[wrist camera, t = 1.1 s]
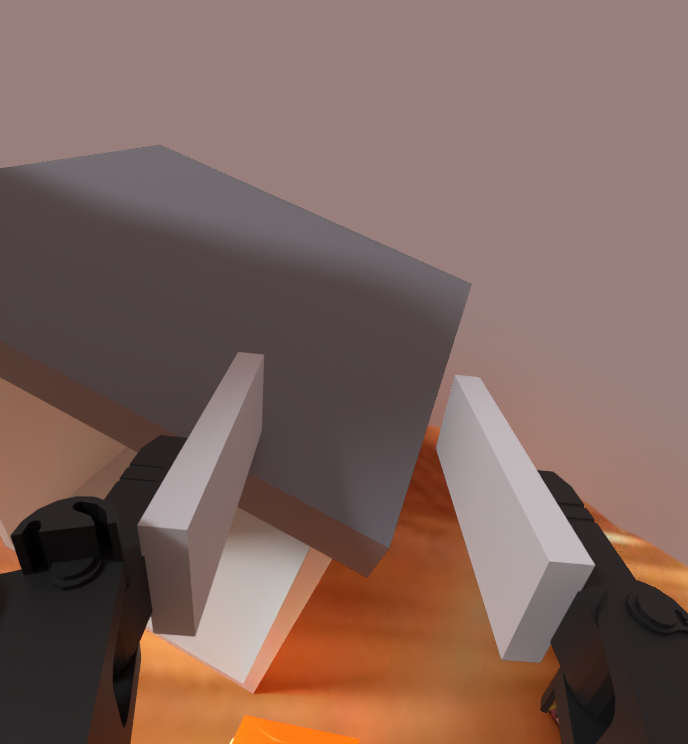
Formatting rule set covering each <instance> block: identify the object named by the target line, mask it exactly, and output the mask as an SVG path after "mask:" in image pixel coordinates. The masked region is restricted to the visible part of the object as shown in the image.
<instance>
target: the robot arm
mask: <svg viewBox="0 0 688 744" xmlns="http://www.w3.org/2000/svg"><path fill="white" fill-rule="evenodd" d="M263 373H264V355H263V354H253V353H244V352H238V353H237V355H236V357H235V358H234V360H233V362H232V364H231V365H230V367H229V369H228V370H227V372H226V374H225V376H224V377H223V379H222V381H221V382H220V384H219V386H218V388H217V389H216V391H215V393H214V394H213V396H212V398H211V400H210V401H209V403H208V405H207V406H206V408H205V410H204V412H203V413H202V415H201V417H200V418H199V420H198V422H197V424H196V425H195V427H194V429H193V430H192V432H191V434H190V436H189V437H188V438H184V437H174V436H164V435H160V436H158V437H157V438H155V439H154V440H152V441H151V442H149V443H148V444H146V445H145V446H143V447H142V448H141V449H140V450H139V452H138V453H137V455H136V456H135V457H134V459H133V460H132V461H131V463H130V466H129V467H127V468H126V470H125V471H124V472H123V474H122V475H121V477H120V480H119V481H117V482H116V483H115V485H114V486H113V488H112V489H111V490H110V492H109V493H108V494H107V496H106V497H105V499H104V500H103V499H100V498H97V497H94V496H76V497H71V498H66V499H62V500H57V501H55V502H53V503H51V504H48V505H46V506H44V507H42V508H39V509H37V510H36V511H35V512H33V513H32V514H31V515H29V516H28V517H27V518H25V519H24V520H22V521H21V522H20V524H19V525H18V526H17V528H16V529H15V530H14V531H13V533H12V534H11V535H10V536H11V539H12V542H13V545H14V548H15V551H16V554H17V557H18V560H19V563H20V565H21V568H22V569H21V570H17V571H13V572H8V573H3V574H0V744H130V742H131V734H132V726H133V719H134V711H135V703H136V695H137V687H138V679H139V672H140V664H141V650H140V640H141V637H142V635H143V633H144V630H145V628H146V626H147V624H148V621H149V619H150V617H151V620H152V627H153V634H166V635H179V636H192V637H195V636H196V633H197V630H198V627H199V624H200V621H201V618H202V615H203V611H204V608H205V605H206V602H207V599H208V596H209V593H210V590H211V587H212V584H213V580H214V577H215V574H216V571H217V568H218V565H219V562H220V559H221V556H222V553H223V549H224V546H225V543H226V540H227V537H228V534H229V531H230V528H231V525H232V522H233V518H234V515H235V512H236V509H237V506H238V503H239V500H240V497H241V494H242V491H243V488H244V484H245V481H246V478H247V475H248V472H249V469H250V466H251V463H252V460H253V457H254V453H255V450H256V447H257V444H258V441H259V438H260V435H261V432H262V407H263ZM436 450H437V453H438V456H439V460H440V463H441V466H442V469H443V473H444V476H445V479H446V482H447V486H448V489H449V492H450V495H451V498H452V502H453V505H454V508H455V511H456V515H457V518H458V521H459V524H460V528H461V531H462V534H463V537H464V540H465V544H466V547H467V550H468V553H469V557H470V560H471V563H472V566H473V570H474V573H475V576H476V579H477V583H478V586H479V589H480V592H481V595H482V599H483V602H484V605H485V608H486V612H487V615H488V618H489V621H490V625H491V628H492V631H493V634H494V637H495V641H496V644H497V647H498V650H499V654H500V657H501V660H509V661H522V662H535V663H541V661H542V659H543V657H544V656H545V654H546V652H547V650H548V648H549V647H550V645H552V647H553V650H554V652H555V654H556V657H557V659H558V661H559V664H560V666H561V667H560V668H559V670H558V672H557V673H556V675H555V677H554V678H553V680H552V681H551V683H550V685H549V686H548V688H547V690H546V691H545V693H544V695H543V696H542V698H541V708H540V711H542V712H545V713H547V712H548V710H549V709H550V707H551V705H552V704H553V702H554V701H555V699H556V706H557V712H556V717H558V721H559V728H560V736H561V743H562V744H688V613H687V612H686V611H685V610H684V609H683V608H682V607H681V606H680V605H679V604H677V603H676V602H675V601H674V600H673V599H672V598H670V597H669V596H667V595H666V594H664V593H663V592H661V591H660V590H658V589H657V588H655V587H653V586H650V585H648V584H646V583H643V582H641V581H638V580H636V579H635V578H634V576H633V575H632V573H631V572H630V570H629V569H628V568H627V566H626V565H625V563H624V562H623V560H622V559H621V557H620V556H619V554H618V553H617V552H616V550H615V549H614V547H613V546H612V544H611V543H610V541H609V540H608V539H607V537H606V536H605V534H604V533H603V531H602V530H601V528H600V527H599V526H598V524H597V523H594V518H593V517H592V515H591V514H590V513H589V511H588V510H587V508H584V504H583V502H582V501H581V500H580V498H579V497H578V495H577V494H576V493H575V491H574V490H573V488H572V487H571V486H570V485H569V484H567V483H566V482H565V481H564V480H563V479H561V478H560V477H559V476H558V475H557V474H556V473H554V472H551V471H540V470H536V469H535V467H534V465H533V463H532V462H531V460H530V459H529V457H528V455H527V454H526V452H525V450H524V449H523V447H522V446H521V444H520V443H519V441H518V439H517V437H516V436H515V434H514V433H513V431H512V429H511V428H510V426H509V424H508V423H507V421H506V420H505V418H504V416H503V415H502V413H501V411H500V410H499V408H498V407H497V405H496V403H495V402H494V400H493V398H492V397H491V395H490V394H489V392H488V390H487V389H486V387H485V385H484V384H483V382H482V381H481V379H480V378H479V377H470V376H461V375H455V377H454V381H453V385H452V388H451V392H450V396H449V400H448V403H447V407H446V411H445V415H444V419H443V423H442V426H441V430H440V434H439V438H438V442H437V445H436Z"/></svg>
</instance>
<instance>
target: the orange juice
mask: <svg viewBox="0 0 688 744" xmlns="http://www.w3.org/2000/svg"><path fill="white" fill-rule="evenodd" d="M359 740H360V739H356V738H351V737H346V736H342V735H337V734H332V733H327V732H323V731H318V730H313V729H308V728H303V727H299V726H294V725H289V724H284V723H280V722H275V721H270V720H265V719H260V718H256V717H251V716H246V715H245V716H244V718H243V721H242V723H241V725H240V727H239V729H238V731H237V733H236V736H235V738H233V739H232V741H231V742H230V744H359Z"/></svg>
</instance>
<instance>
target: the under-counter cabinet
mask: <svg viewBox="0 0 688 744" xmlns="http://www.w3.org/2000/svg"><path fill="white" fill-rule="evenodd" d="M471 285H472V284H471V283H468V282H466V281H464V280H462V279H460V278H457V277H455V276H453V275H451V274H448V273H446V272H444V271H442V270H439V269H437V268H435V267H433V266H430V265H428V264H426V263H424V262H421V261H419V260H417V259H415V258H413V257H410V256H408V255H406V254H403V253H401V252H399V251H397V250H395V249H392V248H390V247H388V246H385V245H383V244H381V243H379V242H377V241H374V240H372V239H370V238H368V237H365V236H363V235H361V234H359V233H357V232H354V231H352V230H350V229H348V228H345V227H343V226H341V225H338V224H336V223H334V222H332V221H330V220H327V219H325V218H323V217H321V216H318V215H316V214H314V213H312V212H310V211H307V210H305V209H303V208H301V207H298V206H296V205H294V204H292V203H289V202H287V201H285V200H283V199H280V198H278V197H276V196H274V195H272V194H269V193H267V192H264V191H263V190H260V189H258V188H256V187H254V186H251V185H249V184H247V183H245V182H242V181H240V180H238V179H236V178H233V177H231V176H229V175H227V174H225V173H222V172H220V171H218V170H216V169H213V168H211V167H209V166H207V165H204V164H202V163H200V162H197V161H195V160H193V159H191V158H189V157H186V156H184V155H182V154H180V153H177V152H175V151H173V150H171V149H169V148H166V147H164V146H162V145H156V146H149V147H142V148H136V149H129V150H122V151H116V152H109V153H102V154H95V155H88V156H82V157H75V158H68V159H61V160H55V161H47V162H41V163H34V164H27V165H20V166H14V167H7V168H0V536H1V538H2V540H3V542H4V544H5V546H7V547H9V548H10V549H12V550H14V551H15V548H14V545H13V542H12V539H11V536H10V535H11V534H12V533H13V531H14V530H15V529H16V528H17V526H18V525H19V524H20V522H21V521H22V520H24V519H25V518H27V517H28V516H29V515H31V514H32V513H33V512H35V511H36V510H37V509H39V508H42V507H44V506H46V505H48V504H51V503H53V502H55V501H57V500H62V499H66V498H71V497H76V496H94V497H97V498H100V499H103V500H104V499H105V497H106V496H107V494H108V493H109V492H110V490H111V489H112V488H113V486H114V485H115V483H116V482H117V481H119V480H120V477H121V475H122V474H123V472H124V471H125V470H126V468H127V467H129V466H130V463H131V461H132V460H133V459H134V457H135V456H136V455H137V453H138V452H139V450H140V449H141V448H142V447H143V446H145V445H146V444H148V443H149V442H151V441H152V440H154V439H155V438H157V437H158V436H160V435H164V436H174V437H184V438H188V437H189V436H190V434H191V432H192V430H193V429H194V427H195V425H196V424H197V422H198V420H199V418H200V417H201V415H202V413H203V412H204V410H205V408H206V406H207V405H208V403H209V401H210V400H211V398H212V396H213V394H214V393H215V391H216V389H217V388H218V386H219V384H220V382H221V381H222V379H223V377H224V376H225V374H226V372H227V370H228V369H229V367H230V365H231V364H232V362H233V360H234V358H235V357H236V355H237V353H238V352H244V353H253V354H263V355H264V373H263V407H262V432H261V435H260V438H259V441H258V444H257V447H256V450H255V453H254V457H253V460H252V463H251V466H250V469H249V472H248V475H247V478H246V481H245V484H244V488H243V491H242V494H241V497H240V500H239V503H238V506H237V509H236V512H235V515H234V518H233V522H232V525H231V528H230V531H229V534H228V537H227V540H226V543H225V546H224V549H223V553H222V556H221V559H220V562H219V565H218V568H217V571H216V574H215V577H214V580H213V584H212V587H211V590H210V593H209V596H208V599H207V602H206V605H205V608H204V611H203V615H202V618H201V621H200V624H199V627H198V630H197V633H196V636H195V637H192V636H179V635H166V634H154V635H156V636H157V637H159V638H161V639H162V640H164V641H166V642H167V643H169V644H171V645H172V646H174V647H176V648H177V649H179V650H181V651H182V652H184V653H186V654H187V655H189V656H191V657H192V658H194V659H196V660H197V661H199V662H201V663H202V664H204V665H206V666H207V667H209V668H211V669H212V670H214V671H216V672H217V673H219V674H221V675H222V676H224V677H226V678H227V679H229V680H231V681H232V682H234V683H236V684H237V685H239V686H241V687H242V688H244V689H246V690H247V691H249V692H251V693H252V694H253V693H254V692H255V690H256V688H257V687H258V685H259V683H260V681H261V680H262V678H263V676H264V675H265V673H266V671H267V670H268V668H269V666H270V664H271V663H272V661H273V659H274V658H275V656H276V654H277V652H278V651H279V649H280V647H281V646H282V644H283V642H284V641H285V639H286V637H287V635H288V634H289V632H290V630H291V629H292V627H293V625H294V623H295V622H296V620H297V618H298V617H299V615H300V613H301V612H302V610H303V608H304V606H305V605H306V603H307V601H308V600H309V598H310V596H311V594H312V593H313V591H314V589H315V588H316V586H317V584H318V583H319V581H320V579H321V577H322V576H323V574H324V572H325V571H326V569H327V567H328V565H329V564H330V562H331V560H332V559H334V560H336V561H338V562H339V563H341V564H343V565H345V566H347V567H349V568H350V569H352V570H354V571H356V572H358V573H360V574H361V575H363V576H365V577H368V576H369V575H370V573H371V572H372V571H373V569H374V568H375V567H376V565H377V564H378V563H379V561H380V560H381V559H382V557H383V556H384V555H385V553H386V552H387V551H388V549H389V547H390V544H391V541H392V538H393V535H394V531H395V528H396V525H397V522H398V519H399V515H400V512H401V509H402V506H403V503H404V499H405V496H406V493H407V490H408V487H409V483H410V480H411V477H412V474H413V471H414V467H415V464H416V461H417V458H418V455H419V451H420V448H421V445H422V442H423V439H424V435H425V432H426V429H427V426H428V423H429V419H430V416H431V413H432V410H433V407H434V403H435V400H436V397H437V394H438V391H439V387H440V384H441V381H442V378H443V374H444V371H445V368H446V365H447V362H448V359H449V355H450V352H451V349H452V346H453V342H454V339H455V336H456V333H457V330H458V327H459V323H460V320H461V317H462V314H463V311H464V307H465V304H466V301H467V298H468V295H469V291H470V288H471ZM15 552H16V551H15ZM145 629H146V630H147V631H149V632H151V633H152V634H153V627H152V620H151V617H150V619H149V621H148V624H147V626H146V628H145Z"/></svg>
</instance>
